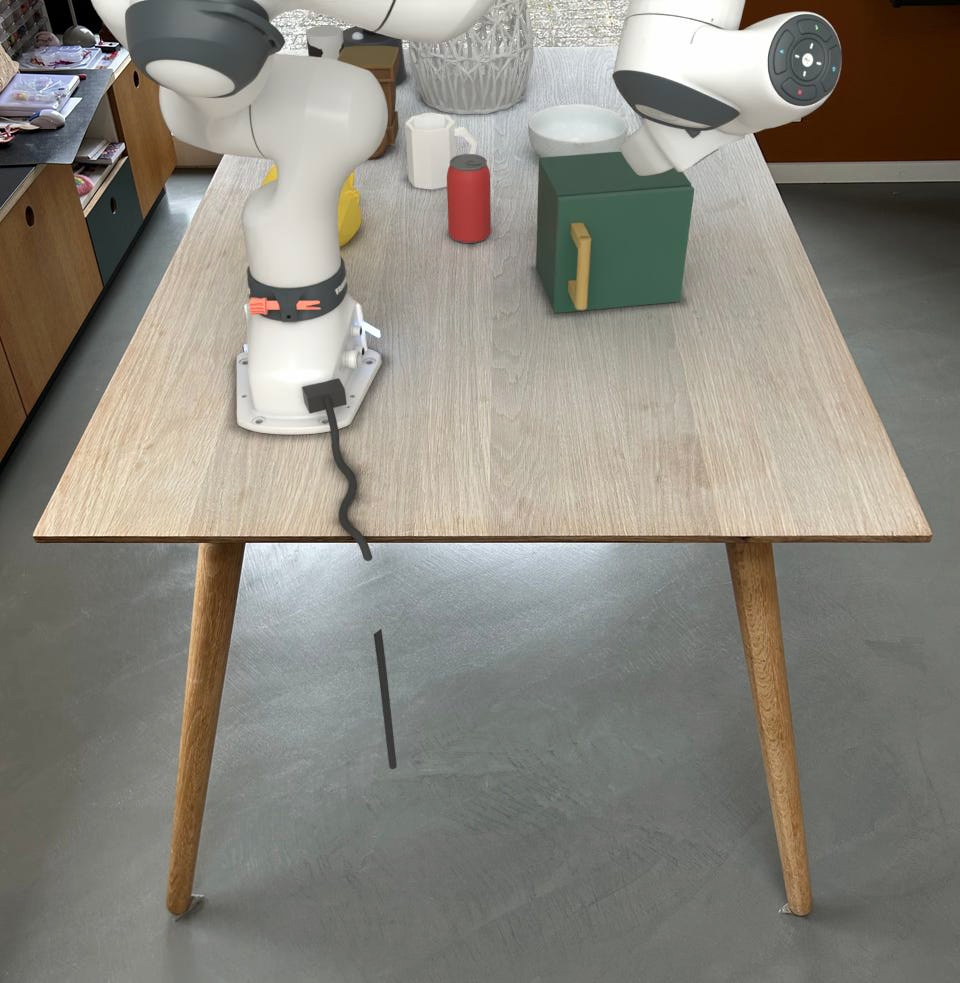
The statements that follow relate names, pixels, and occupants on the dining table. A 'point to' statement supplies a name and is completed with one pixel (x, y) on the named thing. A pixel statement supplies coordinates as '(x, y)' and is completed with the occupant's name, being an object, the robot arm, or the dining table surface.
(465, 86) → the vase
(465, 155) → the beer can
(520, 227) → the dining table surface
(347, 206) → the teapot
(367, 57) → the wooden toy train
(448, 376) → the dining table surface
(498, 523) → the dining table surface
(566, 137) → the cereal bowl
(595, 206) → the door
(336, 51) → the cup
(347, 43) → the light fixture
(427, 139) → the mug
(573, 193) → the cupboard
